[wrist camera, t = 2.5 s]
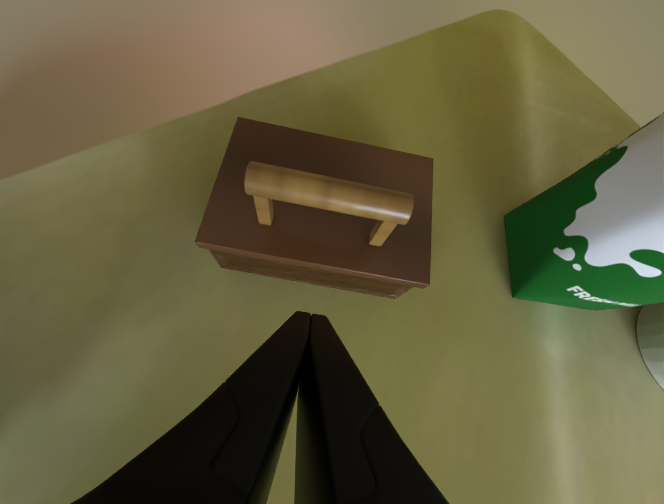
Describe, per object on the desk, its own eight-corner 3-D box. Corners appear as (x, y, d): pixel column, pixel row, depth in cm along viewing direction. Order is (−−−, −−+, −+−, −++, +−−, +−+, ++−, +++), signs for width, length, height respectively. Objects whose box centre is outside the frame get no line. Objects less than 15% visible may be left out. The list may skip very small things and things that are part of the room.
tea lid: (423, 288, 17) (477, 257, 12) (198, 247, 16) (159, 196, 11) (428, 165, 20) (472, 102, 15) (239, 126, 19) (222, 45, 14)
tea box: (395, 299, 22) (423, 280, 17) (221, 267, 21) (201, 239, 16) (402, 204, 25) (428, 166, 20) (249, 173, 24) (239, 126, 19)
